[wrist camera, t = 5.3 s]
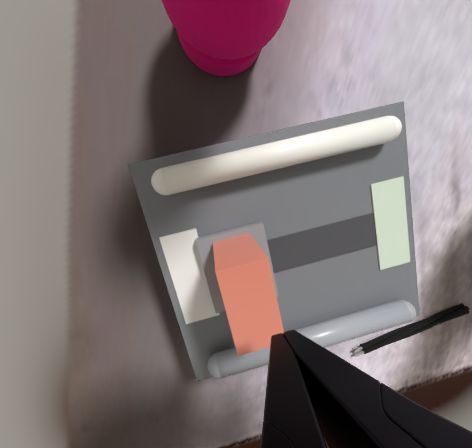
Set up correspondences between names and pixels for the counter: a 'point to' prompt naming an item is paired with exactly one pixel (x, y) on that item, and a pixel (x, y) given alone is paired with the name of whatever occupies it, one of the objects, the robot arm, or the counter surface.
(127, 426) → the counter surface
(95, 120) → the counter surface
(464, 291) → the counter surface
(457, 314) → the black thin rod
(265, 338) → the lever
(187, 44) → the pepper mill
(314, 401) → the robot arm
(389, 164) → the box
